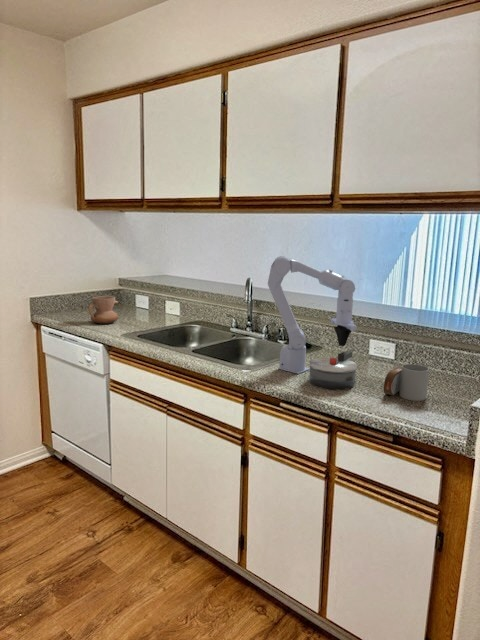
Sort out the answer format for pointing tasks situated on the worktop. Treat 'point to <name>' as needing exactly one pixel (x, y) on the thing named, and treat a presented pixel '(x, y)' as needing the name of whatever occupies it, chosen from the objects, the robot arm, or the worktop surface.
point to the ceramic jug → (103, 310)
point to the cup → (414, 382)
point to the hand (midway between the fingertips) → (342, 345)
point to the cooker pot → (332, 379)
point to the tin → (393, 381)
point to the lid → (334, 363)
